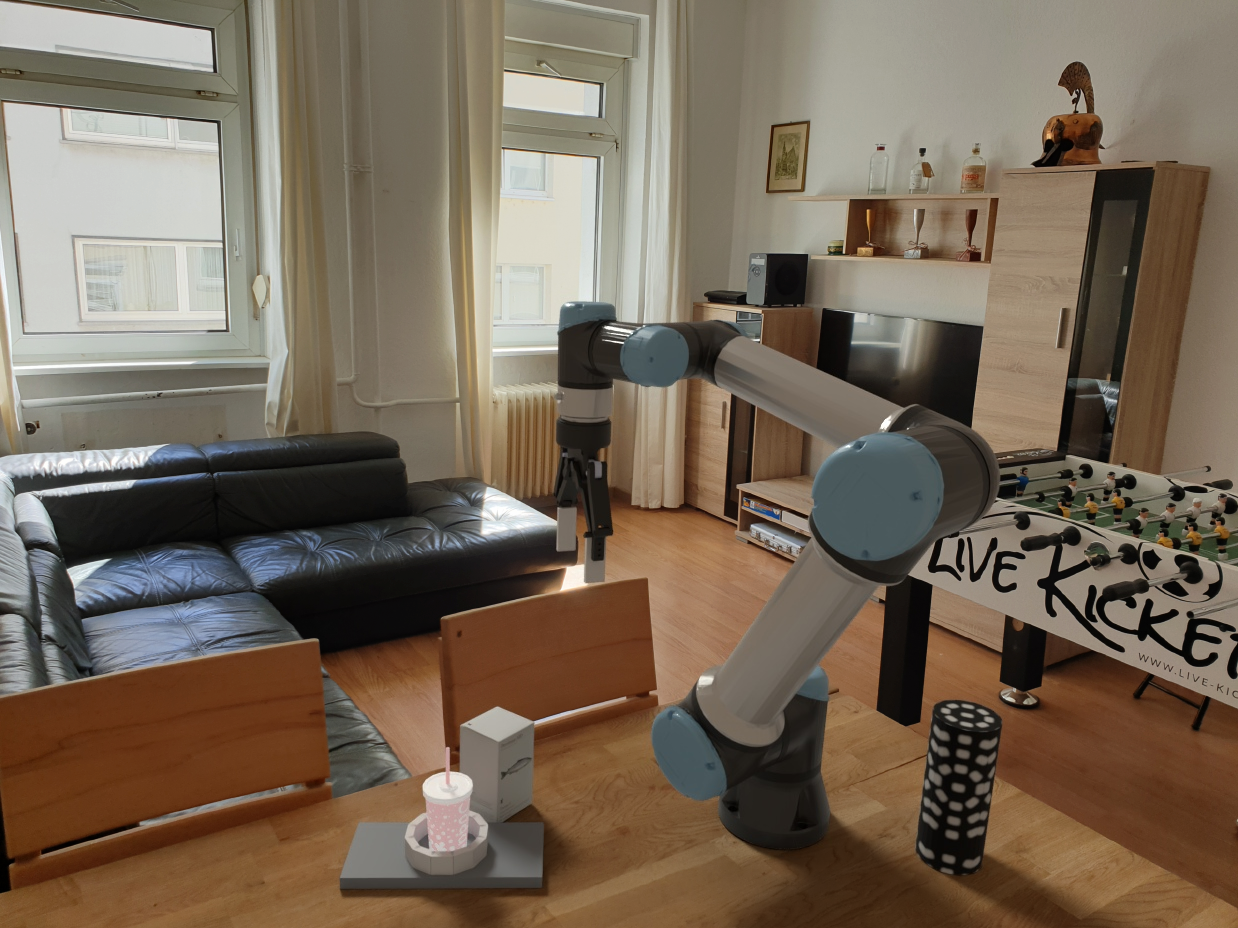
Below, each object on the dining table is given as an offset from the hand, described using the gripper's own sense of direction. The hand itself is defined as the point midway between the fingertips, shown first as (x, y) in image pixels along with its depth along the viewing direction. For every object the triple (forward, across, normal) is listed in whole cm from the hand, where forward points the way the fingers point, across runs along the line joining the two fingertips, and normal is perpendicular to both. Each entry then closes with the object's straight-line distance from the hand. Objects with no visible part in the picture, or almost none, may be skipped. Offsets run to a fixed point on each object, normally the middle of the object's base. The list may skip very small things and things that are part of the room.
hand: (579, 565), depth 133 cm
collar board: (+32, +16, -21) cm, 41 cm away
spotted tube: (+32, +33, +41) cm, 62 cm away
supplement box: (+32, +6, -13) cm, 35 cm away
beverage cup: (+30, +16, -21) cm, 40 cm away
